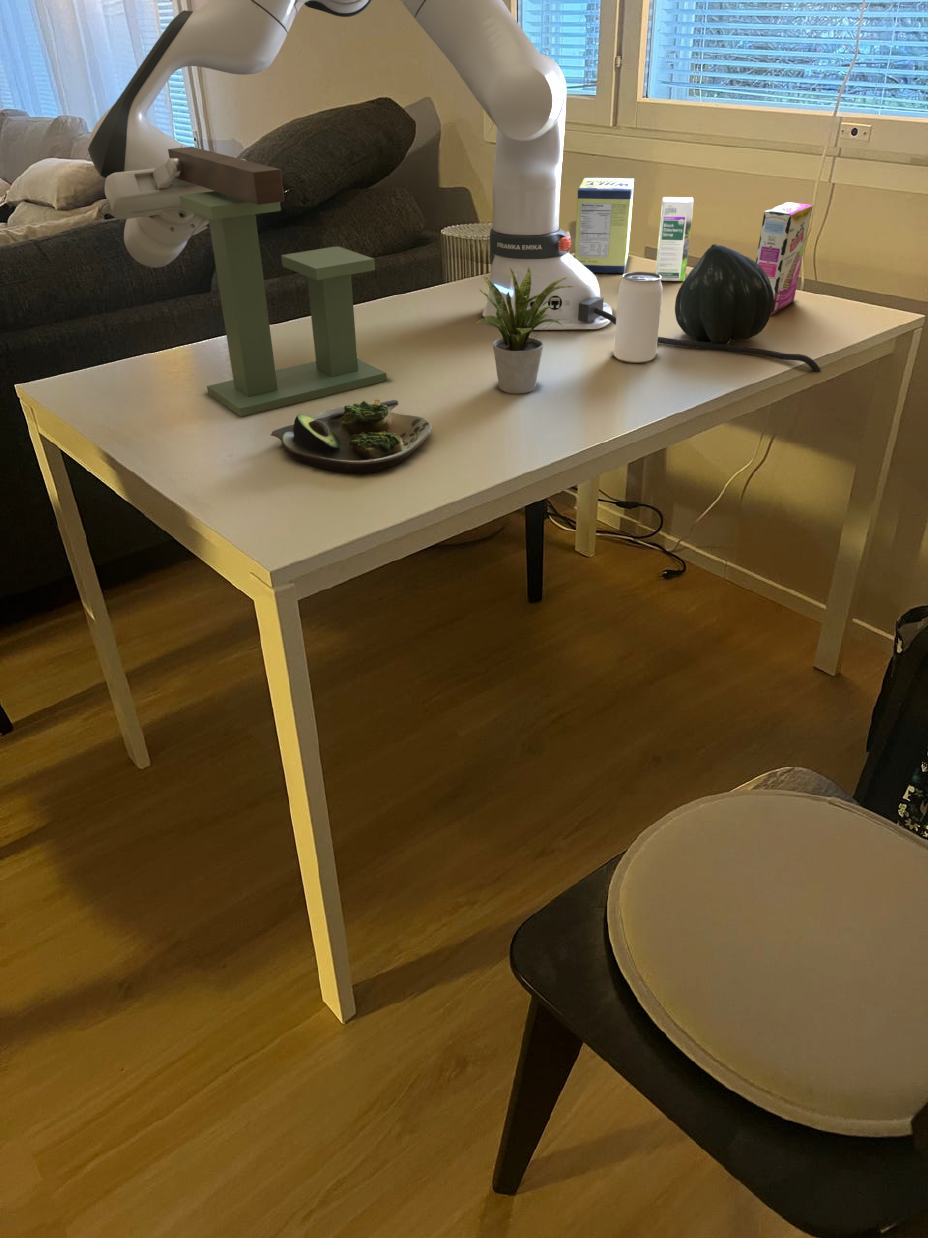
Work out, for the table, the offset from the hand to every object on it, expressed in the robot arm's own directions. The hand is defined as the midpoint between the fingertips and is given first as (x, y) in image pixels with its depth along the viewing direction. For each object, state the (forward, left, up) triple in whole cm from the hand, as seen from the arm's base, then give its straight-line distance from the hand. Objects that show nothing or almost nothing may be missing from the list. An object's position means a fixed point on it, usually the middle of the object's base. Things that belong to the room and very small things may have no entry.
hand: (194, 161), depth 120 cm
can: (-58, -19, -29) cm, 68 cm away
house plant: (-43, -2, -29) cm, 52 cm away
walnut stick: (-6, +6, -2) cm, 9 cm away
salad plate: (-25, +21, -29) cm, 44 cm away
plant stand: (-11, +2, -29) cm, 31 cm away
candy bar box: (-81, -51, -29) cm, 101 cm away
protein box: (-50, -78, -29) cm, 97 cm away
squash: (-71, -30, -29) cm, 83 cm away
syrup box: (-63, -69, -29) cm, 98 cm away
